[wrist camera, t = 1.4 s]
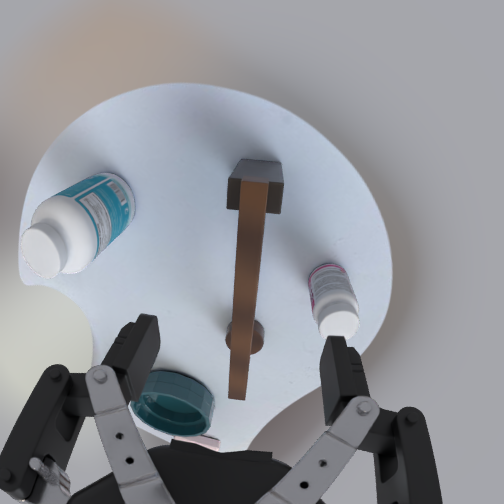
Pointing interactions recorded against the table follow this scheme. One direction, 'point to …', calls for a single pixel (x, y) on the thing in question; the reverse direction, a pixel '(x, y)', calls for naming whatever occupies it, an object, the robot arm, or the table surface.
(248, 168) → the dark grey rubber eraser
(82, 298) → the table surface
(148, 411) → the bowl
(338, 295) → the pill bottle
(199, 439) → the soap bar
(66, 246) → the pill bottle
